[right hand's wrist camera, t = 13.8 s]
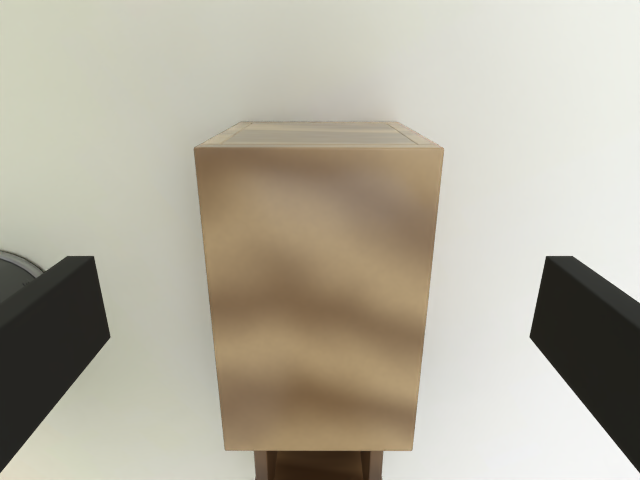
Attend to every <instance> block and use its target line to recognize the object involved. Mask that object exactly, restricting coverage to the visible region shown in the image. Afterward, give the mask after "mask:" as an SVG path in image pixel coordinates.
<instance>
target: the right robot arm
mask: <svg viewBox="0 0 640 480" xmlns="http://www.w3.org/2000/svg"><path fill="white" fill-rule="evenodd" d="M109 338H110V332H109V327H108V323H107V318H106V313H105V308H104V303H103V298H102V294H101V289H100V284H99V279H98V274H97V269H96V264H95V260H94V256H67V257H65V258H64V259H63V260H61V261H60V262H58V263H57V264H55V265H54V266H53V267H51V268H50V269H48V270H47V271H45V272H44V273H43V274H41V275H40V276H38V277H37V278H35V279H34V280H33V281H31V282H30V283H28V284H27V285H25V286H24V287H23V288H21V289H20V290H18V291H17V292H16V293H14V294H13V295H11V296H10V297H8V298H7V299H6V300H4V301H3V302H1V303H0V473H1V471H2V470H3V469H4V468H5V467H6V465H7V464H8V463H9V462H10V460H11V459H12V458H13V457H14V455H15V454H16V453H17V452H18V451H19V449H20V448H21V447H22V446H23V444H24V443H25V442H26V441H27V439H28V438H29V437H30V436H31V435H32V433H33V432H34V431H35V430H36V428H37V427H38V426H39V425H40V423H41V422H42V421H43V420H44V419H45V417H46V416H47V415H48V414H49V412H50V411H51V410H52V409H53V407H54V406H55V405H56V404H57V403H58V401H59V400H60V399H61V398H62V396H63V395H64V394H65V393H66V391H67V390H68V389H69V388H70V387H71V385H72V384H73V383H74V382H75V380H76V379H77V378H78V377H79V375H80V374H81V373H82V372H83V370H84V369H85V368H86V367H87V366H88V364H89V363H90V362H91V361H92V359H93V358H94V357H95V356H96V354H97V353H98V352H99V351H100V350H101V348H102V347H103V346H104V345H105V343H106V342H107V341H108V340H109ZM530 338H531V340H532V341H533V342H534V343H535V345H536V346H537V347H538V348H539V350H540V351H541V352H542V353H543V354H544V356H545V357H546V358H547V359H548V361H549V362H550V363H551V364H552V366H553V367H554V368H555V369H556V370H557V372H558V373H559V374H560V375H561V377H562V378H563V379H564V380H565V382H566V383H567V384H568V385H569V387H570V388H571V389H572V390H573V391H574V393H575V394H576V395H577V396H578V398H579V399H580V400H581V401H582V403H583V404H584V405H585V406H586V407H587V409H588V410H589V411H590V412H591V414H592V415H593V416H594V417H595V419H596V420H597V421H598V422H599V423H600V425H601V426H602V427H603V428H604V430H605V431H606V432H607V433H608V435H609V436H610V437H611V438H612V439H613V441H614V442H615V443H616V444H617V446H618V447H619V448H620V449H621V451H622V452H623V453H624V454H625V455H626V457H627V458H628V459H629V460H630V462H631V463H632V464H633V465H634V467H635V468H636V469H637V470H638V472H639V473H640V303H639V302H637V301H636V300H634V299H633V298H632V297H630V296H629V295H627V294H626V293H624V292H623V291H622V290H620V289H619V288H617V287H616V286H614V285H613V284H612V283H610V282H609V281H607V280H606V279H605V278H603V277H602V276H600V275H599V274H597V273H596V272H595V271H593V270H592V269H590V268H589V267H587V266H586V265H585V264H583V263H582V262H580V261H579V260H577V259H576V258H575V257H573V256H546V260H545V264H544V269H543V274H542V279H541V284H540V289H539V294H538V298H537V303H536V308H535V313H534V318H533V323H532V327H531V332H530Z"/></svg>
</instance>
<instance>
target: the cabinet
mask: <svg viewBox="0 0 640 480" xmlns="http://www.w3.org/2000/svg"><path fill="white" fill-rule="evenodd" d="M443 155H444V148H443V147H441V146H439V145H438V144H436V143H434V142H433V141H431V140H429V139H427V138H425V137H424V136H422V135H420V134H418V133H416V132H415V131H413V130H411V129H409V128H408V127H406V126H404V125H402V124H400V123H399V122H239V123H238V124H236V125H234V126H233V127H231V128H229V129H227V130H225V131H224V132H222V133H220V134H218V135H216V136H214V137H213V138H211V139H209V140H207V141H205V142H204V143H202V144H200V145H198V146H196V147H194V156H195V166H196V175H197V185H198V195H199V204H200V214H201V224H202V233H203V243H204V253H205V263H206V272H207V282H208V292H209V301H210V311H211V321H212V330H213V340H214V350H215V359H216V369H217V379H218V389H219V398H220V408H221V418H222V427H223V437H224V447H225V450H226V451H412V449H413V439H414V430H415V420H416V411H417V401H418V392H419V382H420V373H421V363H422V354H423V344H424V335H425V325H426V316H427V307H428V297H429V288H430V278H431V269H432V259H433V250H434V240H435V231H436V221H437V212H438V202H439V193H440V183H441V174H442V164H443Z"/></svg>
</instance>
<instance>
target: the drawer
mask: <svg viewBox="0 0 640 480" xmlns="http://www.w3.org/2000/svg"><path fill="white" fill-rule="evenodd" d="M254 459H255V473H256V477H255V480H382V462H383V451H254Z"/></svg>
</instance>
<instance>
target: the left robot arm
mask: <svg viewBox="0 0 640 480" xmlns="http://www.w3.org/2000/svg"><path fill="white" fill-rule="evenodd" d="M43 273H44V272H42V271H41V270H40V269H39V268H38V267H36V266H35V265H33V264H32V263H30V262H29V261H27V260H25V259H23V258H21V257H19V256H16V255H13V254H10V253H7V252H2V251H0V303H1V302H3V301H4V300H6V299H7V298H8V297H10V296H11V295H13V294H14V293H16V292H17V291H18V290H20V289H21V288H23V287H24V286H25V285H27V284H28V283H30V282H31V281H33V280H34V279H35V278H37V277H38V276H40V275H41V274H43Z"/></svg>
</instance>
